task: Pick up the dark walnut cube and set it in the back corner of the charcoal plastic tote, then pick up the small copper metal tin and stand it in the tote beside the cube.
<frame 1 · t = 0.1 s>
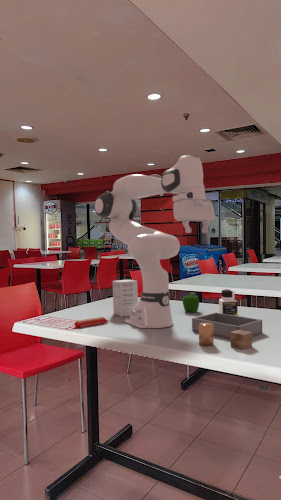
hand: (197, 232, 141), 39 cm above the table, tool pointing down, fingers open, 8 cm apart
medicine bottle: (228, 315, 177), on the table
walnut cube: (241, 346, 124), on the table
bell pepper: (191, 312, 186), on the table
tote: (226, 331, 145), on the table
candy bar: (91, 326, 161), on the table
copper tin: (206, 344, 128), on the table
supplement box: (125, 314, 183), on the table
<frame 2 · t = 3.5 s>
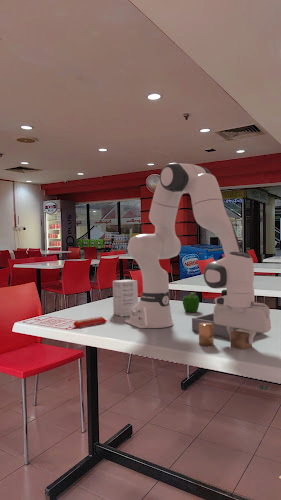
hand: (241, 341, 124), 2 cm above the table, tool pointing down, fingers closed on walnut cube, 5 cm apart
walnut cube: (241, 346, 124), on the table, touching gripper
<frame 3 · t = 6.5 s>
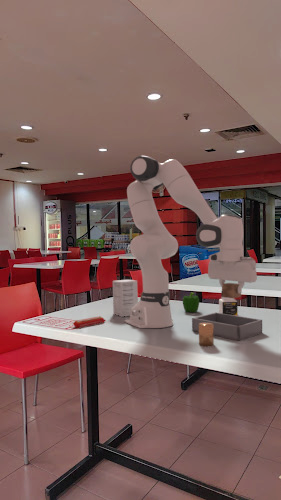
hand: (231, 292, 143), 16 cm above the table, tool pointing down, fingers closed on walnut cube, 5 cm apart
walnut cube: (231, 296, 143), point 14 cm above the table, touching gripper
when the fingers open (4 cm above the table, at t = 9.6 s): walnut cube drops 2 cm, resting on tote.
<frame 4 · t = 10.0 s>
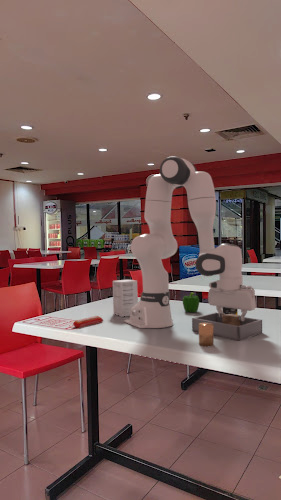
hand: (231, 319, 147), 4 cm above the table, tool pointing down, fingers open, 8 cm apart
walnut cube: (231, 328, 147), point 1 cm above the table, touching tote
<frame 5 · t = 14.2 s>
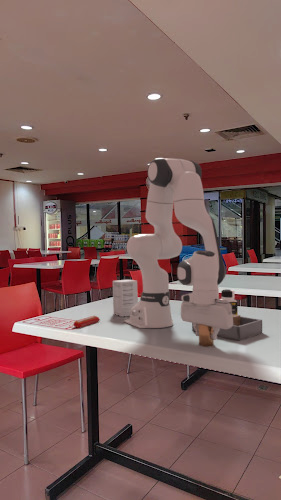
hand: (206, 337, 128), 2 cm above the table, tool pointing down, fingers closed on copper tin, 5 cm apart
copper tin: (206, 344, 128), on the table, touching gripper
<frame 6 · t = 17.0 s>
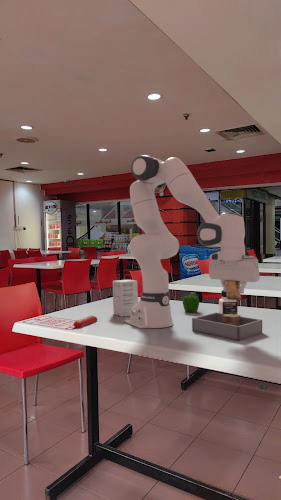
hand: (233, 292, 138), 16 cm above the table, tool pointing down, fingers closed on copper tin, 5 cm apart
copper tin: (233, 298, 138), point 14 cm above the table, touching gripper
when the fingers open (5 cm above the table, at t = 19.8 s): copper tin drops 1 cm, resting on tote.
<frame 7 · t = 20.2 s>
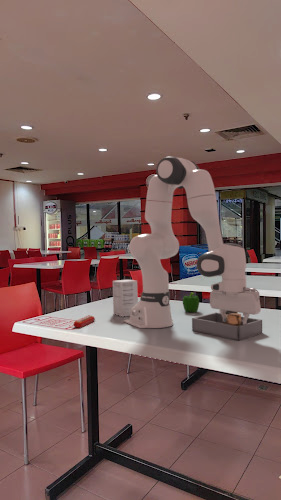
hand: (234, 323, 139), 5 cm above the table, tool pointing down, fingers open, 6 cm apart
copper tin: (234, 333, 139), point 1 cm above the table, touching tote
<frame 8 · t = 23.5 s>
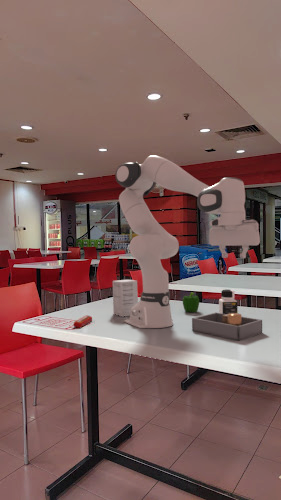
hand: (233, 257, 138), 29 cm above the table, tool pointing down, fingers open, 6 cm apart
at the end: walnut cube inside the target area on the tote (3.7 cm from its centre), point 0.8 cm above the tote's base; copper tin inside the target area on the tote (5.7 cm from its centre), point 0.8 cm above the tote's base; copper tin tilted 1° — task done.
